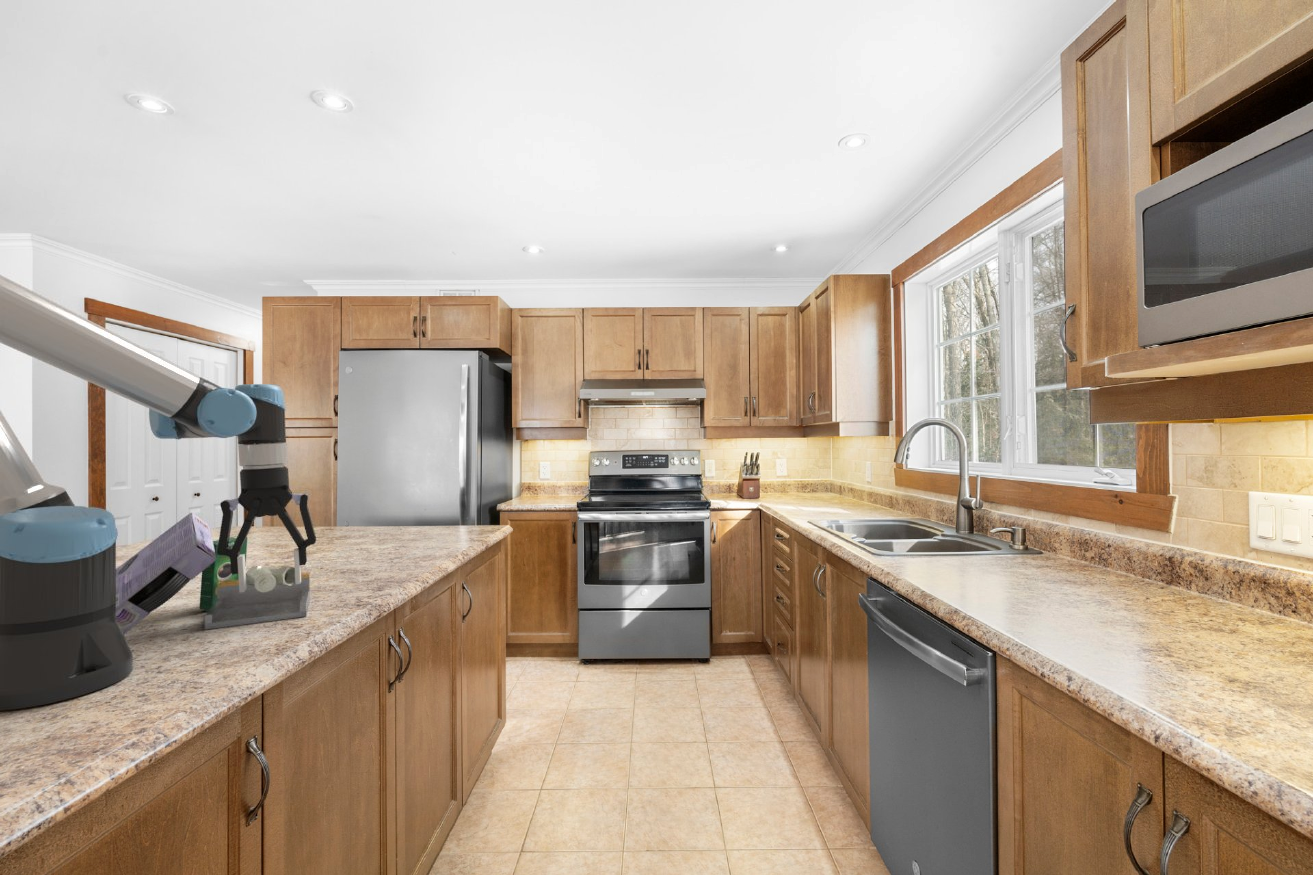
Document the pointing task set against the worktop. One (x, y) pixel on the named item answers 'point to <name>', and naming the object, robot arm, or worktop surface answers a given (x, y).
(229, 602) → the grey tray
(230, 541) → the coffee box
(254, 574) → the pipe fitting
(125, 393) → the robot arm
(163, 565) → the cake pan box
